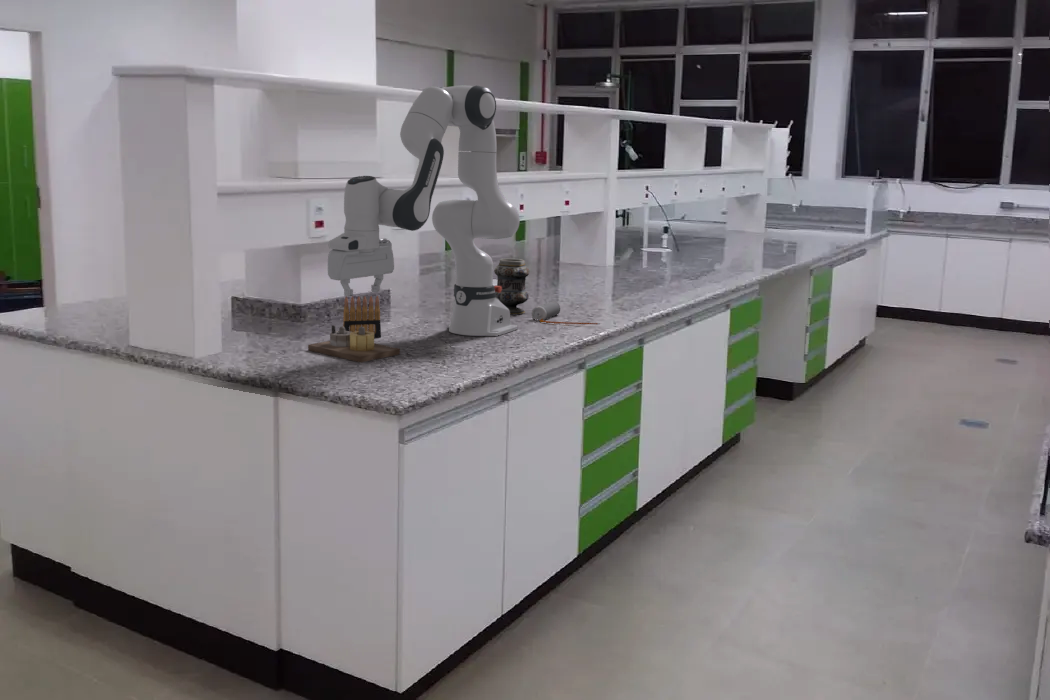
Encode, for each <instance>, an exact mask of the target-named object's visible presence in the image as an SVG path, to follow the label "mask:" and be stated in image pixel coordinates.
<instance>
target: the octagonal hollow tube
mask: <svg viewBox="0 0 1050 700" xmlns="http://www.w3.org/2000/svg"><path fill="white" fill-rule="evenodd" d="M374 343H375V338H374V332H369V331H365V335H359V331H356V332H350V349H351V350H355V351H369V350H374Z"/></svg>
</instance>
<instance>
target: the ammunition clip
mask: <svg viewBox="0 0 1050 700" xmlns="http://www.w3.org/2000/svg"><path fill="white" fill-rule="evenodd" d="M344 297H345V298H344V301H343V302H344V303H343V314H342V315H343V316H342V317H343V320H342V321H343V323H342V326H343V327H345V331H350V332H356V331H359V328H360V327H364V328H365V331H369V332H374V339H379V338H380V339H381V338H382V332H381V330H382V328H381V308H380V298H379V296H378V295H376V297H375V304H374V299H373V296H372V295H371V296H370V297H369V301H367V300H368V299H367V297H366V296H365V295H364V296H363V299H362V301H361V297H360V296H357V299H356V303H355V299H354V295H353V296H351V299H350V302H349V300H348V299H349V298H348V297H347V296H344ZM349 303H350V305H349ZM361 303H362V305H361ZM355 305H356V306H355ZM374 305H375V306H374Z"/></svg>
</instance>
